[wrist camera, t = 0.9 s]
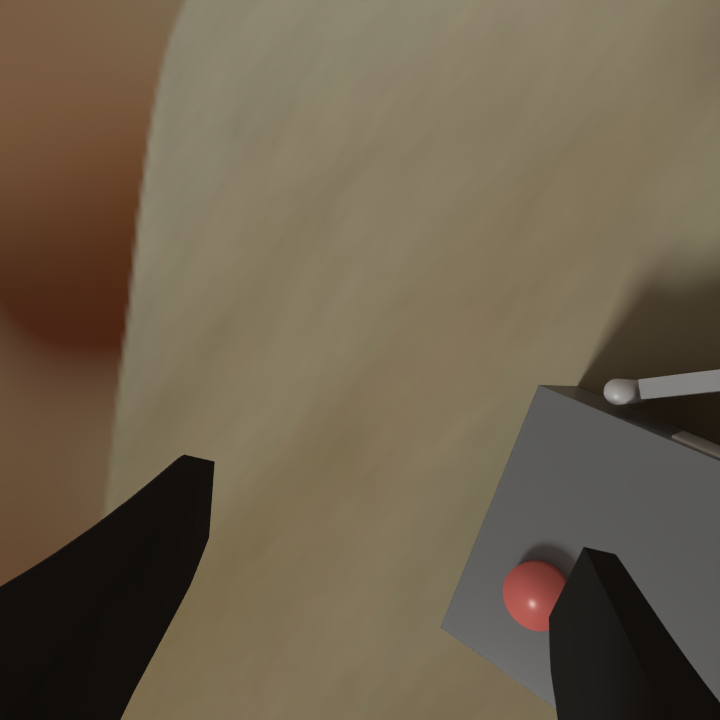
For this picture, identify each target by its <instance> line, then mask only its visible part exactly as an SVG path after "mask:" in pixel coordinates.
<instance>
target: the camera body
mask: <svg viewBox="0 0 720 720" xmlns="http://www.w3.org/2000/svg"><path fill="white" fill-rule="evenodd" d="M583 547H587V548H591V549H596V550H600V551H604V552H609V553H613V554H616V555H617V557H618V558H619V559H620V561H621V562H622V564H623V565H624V567H625V568H626V570H627V571H628V573H629V574H630V576H631V577H632V579H633V580H634V582H635V583H636V585H637V586H638V588H639V589H640V591H641V592H642V594H643V595H644V597H645V598H646V600H647V601H648V603H649V604H650V606H651V607H652V609H653V610H654V612H655V613H656V615H657V616H658V618H659V619H660V621H661V622H662V623H663V625H664V626H665V628H666V629H667V631H668V632H669V634H670V635H671V637H672V638H673V639H674V641H675V642H676V644H677V645H678V647H679V648H680V649H681V651H682V652H683V654H684V655H685V656H686V658H687V659H688V661H689V662H690V663H691V665H692V666H693V667H694V669H695V670H696V671H697V673H698V674H699V676H700V677H701V678H702V680H703V681H704V682H705V684H706V685H707V686H708V688H709V689H710V690H711V691H712V693H713V694H714V695H715V697H716V698H717V699H718V700H719V702H720V445H719V444H717V443H715V442H712V441H710V440H707V439H705V438H702V437H700V436H697V435H695V434H692V433H690V432H688V431H685V430H683V429H680V428H678V427H675V426H673V425H670V424H668V423H666V422H663V421H661V420H658V419H656V418H653V417H651V416H648V415H646V414H643V413H641V412H639V411H636V410H634V409H631V408H629V407H626V406H624V405H614V404H611V403H610V402H608V401H607V399H606V398H604V397H602V396H599V395H597V394H594V393H592V392H590V391H587V390H585V389H582V388H580V387H577V386H554V385H539V386H538V388H537V391H536V393H535V395H534V398H533V400H532V403H531V405H530V408H529V410H528V413H527V415H526V418H525V420H524V423H523V425H522V428H521V430H520V432H519V435H518V437H517V440H516V442H515V445H514V447H513V450H512V452H511V455H510V457H509V460H508V462H507V465H506V467H505V469H504V472H503V474H502V477H501V479H500V482H499V484H498V487H497V489H496V492H495V494H494V497H493V499H492V502H491V504H490V507H489V509H488V511H487V514H486V516H485V519H484V521H483V524H482V526H481V529H480V531H479V534H478V536H477V539H476V541H475V544H474V546H473V548H472V551H471V553H470V556H469V558H468V561H467V563H466V566H465V568H464V571H463V573H462V576H461V578H460V581H459V583H458V585H457V588H456V590H455V593H454V595H453V598H452V600H451V603H450V605H449V608H448V610H447V613H446V615H445V618H444V620H443V623H442V625H441V628H442V629H444V630H445V631H447V632H448V633H449V634H451V635H452V636H454V637H455V638H456V639H458V640H459V641H461V642H462V643H464V644H465V645H466V646H468V647H469V648H471V649H472V650H473V651H475V652H476V653H478V654H479V655H480V656H482V657H483V658H485V659H486V660H488V661H489V662H490V663H492V664H493V665H495V666H496V667H497V668H499V669H500V670H502V671H503V672H505V673H506V674H507V675H509V676H510V677H512V678H513V679H514V680H516V681H517V682H519V683H520V684H522V685H523V686H524V687H526V688H527V689H529V690H530V691H531V692H533V693H534V694H536V695H537V696H538V697H540V698H541V699H543V700H544V701H546V702H547V703H548V704H550V705H551V706H553V707H554V708H555V709H556V704H555V697H554V691H553V684H552V677H551V670H550V649H549V616H550V614H551V612H552V610H553V608H554V606H555V604H556V602H557V600H558V598H559V596H560V593H561V591H562V589H563V587H564V585H565V583H566V581H567V579H568V577H569V575H570V573H571V571H572V569H573V567H574V565H575V563H576V561H577V559H578V557H579V555H580V553H581V551H582V549H583Z"/></svg>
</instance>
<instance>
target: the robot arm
mask: <svg viewBox="0 0 720 720" xmlns="http://www.w3.org/2000/svg"><path fill="white" fill-rule="evenodd" d="M213 476H214V461H209V460H205V459H201V458H196V457H192V456H188V455H183V456H181V457H179V458H178V459H177V460H175V461H174V462H173V463H172V464H171V465H170V466H168V467H167V468H166V469H165V470H164V471H163V472H161V473H160V474H159V475H158V476H157V477H155V478H154V479H153V480H152V481H151V482H149V483H148V484H147V485H146V486H145V487H143V488H142V489H141V490H140V491H138V492H137V493H136V494H135V495H133V496H132V497H131V498H130V499H128V500H127V501H126V502H125V503H123V504H122V505H121V506H119V507H118V508H117V509H115V510H114V511H113V512H112V513H110V514H109V515H108V516H106V517H105V518H104V519H102V520H101V521H100V522H98V523H97V524H96V525H94V526H93V527H92V528H90V529H89V530H87V531H86V532H84V533H83V534H82V535H80V536H79V537H77V538H76V539H74V540H73V541H71V542H70V543H69V544H67V545H66V546H64V547H63V548H61V549H60V550H58V551H57V552H56V553H54V554H52V555H51V556H49V557H48V558H46V559H45V560H43V561H42V562H40V563H38V564H37V565H35V566H34V567H32V568H30V569H29V570H27V571H26V572H24V573H22V574H21V575H19V576H17V577H16V578H14V579H12V580H10V581H9V582H7V583H5V584H4V585H2V586H0V720H120V719H121V717H122V715H123V713H124V711H125V709H126V707H127V705H128V703H129V700H130V698H131V696H132V694H133V692H134V690H135V688H136V687H137V685H138V683H139V681H140V679H141V677H142V675H143V673H144V672H145V670H146V668H147V666H148V664H149V662H150V660H151V658H152V657H153V655H154V653H155V651H156V649H157V647H158V645H159V643H160V642H161V640H162V638H163V636H164V634H165V632H166V630H167V628H168V627H169V625H170V623H171V621H172V619H173V617H174V615H175V613H176V611H177V610H178V608H179V606H180V604H181V602H182V600H183V598H184V596H185V594H186V592H187V590H188V589H189V587H190V585H191V582H192V580H193V577H194V575H195V572H196V570H197V567H198V565H199V562H200V559H201V557H202V554H203V552H204V549H205V546H206V544H207V541H208V539H209V530H210V517H211V503H212V489H213ZM549 649H550V670H551V677H552V684H553V691H554V697H555V704H556V710H557V717H558V720H720V702H719V700H718V699H717V698H716V697H715V695H714V694H713V693H712V691H711V690H710V689H709V688H708V686H707V685H706V684H705V682H704V681H703V680H702V678H701V677H700V676H699V674H698V673H697V671H696V670H695V669H694V667H693V666H692V665H691V663H690V662H689V661H688V659H687V658H686V656H685V655H684V654H683V652H682V651H681V649H680V648H679V647H678V645H677V644H676V642H675V641H674V639H673V638H672V637H671V635H670V634H669V632H668V631H667V629H666V628H665V626H664V625H663V623H662V622H661V621H660V619H659V618H658V616H657V615H656V613H655V612H654V610H653V609H652V607H651V606H650V604H649V603H648V601H647V600H646V598H645V597H644V595H643V594H642V592H641V591H640V589H639V588H638V586H637V585H636V583H635V582H634V580H633V579H632V577H631V576H630V574H629V573H628V571H627V570H626V568H625V567H624V565H623V564H622V562H621V561H620V559H619V558H618V557H617V555H616V554H613V553H609V552H604V551H600V550H596V549H591V548H587V547H583V549H582V551H581V553H580V555H579V557H578V559H577V561H576V563H575V565H574V567H573V569H572V571H571V573H570V575H569V577H568V579H567V581H566V583H565V585H564V587H563V589H562V591H561V593H560V596H559V598H558V600H557V602H556V604H555V606H554V608H553V610H552V612H551V614H550V616H549Z"/></svg>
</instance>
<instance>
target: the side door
mask: <svg viewBox="0 0 720 720" xmlns="http://www.w3.org/2000/svg"><path fill="white" fill-rule="evenodd" d="M715 392H720V369H718V370H710V371H702V372H694V373H686V374H678V375H670V376H662V377H654V378H646V379H638V380H628V379H612V380H610V381H609V382H608V383H607V384H606V385H605V387H604V396H605V398H606V399H607V401H608V402H610V403H611V404H614V405H625V404H639V403H645V402H647V401H649V400H650V399H659V398H669V397H678V396H687V395H697V394H706V393H715Z"/></svg>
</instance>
